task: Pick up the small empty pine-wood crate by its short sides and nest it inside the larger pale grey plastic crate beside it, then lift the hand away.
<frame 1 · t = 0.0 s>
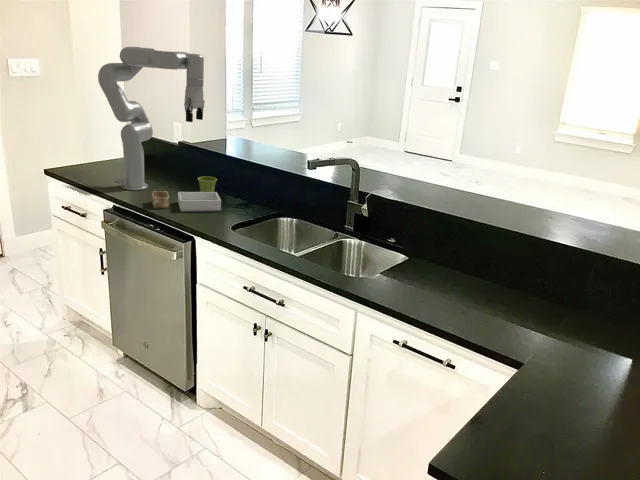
hand: (194, 120, 252), 37 cm above the worktop, tool pointing down, fingers open, 9 cm apart
plant pot: (207, 196, 270), on the worktop
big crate: (199, 206, 253), on the worktop
small crate: (160, 204, 250), on the worktop
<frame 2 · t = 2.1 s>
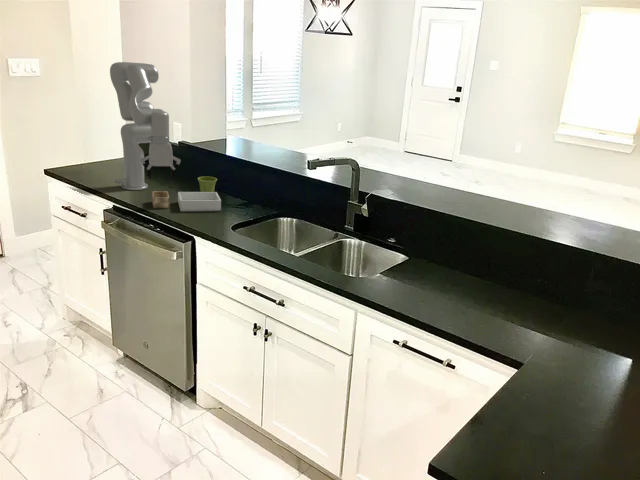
hand: (161, 178, 245), 13 cm above the worktop, tool pointing down, fingers open, 9 cm apart
nothing on the worktop moved.
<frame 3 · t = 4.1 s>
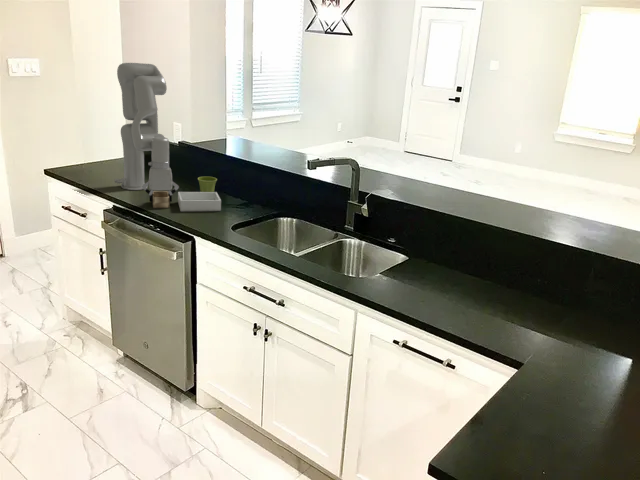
hand: (160, 202, 249), 1 cm above the worktop, tool pointing down, fingers closed on small crate, 7 cm apart
small crate: (160, 204, 250), on the worktop, touching gripper
everything else where it was.
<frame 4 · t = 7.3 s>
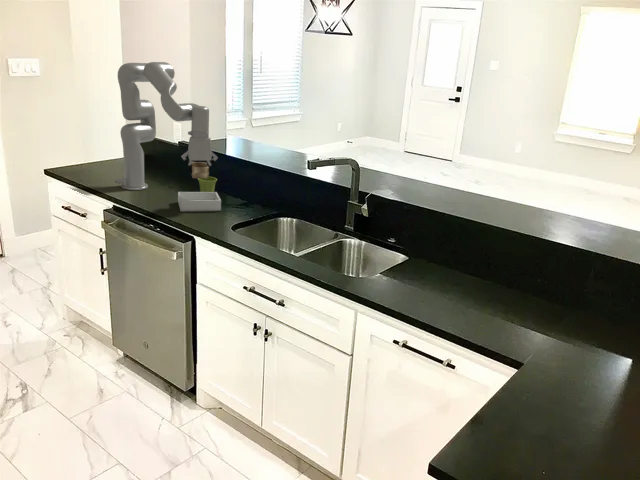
hand: (199, 173, 247), 16 cm above the worktop, tool pointing down, fingers closed on small crate, 7 cm apart
small crate: (199, 175, 247), point 15 cm above the worktop, touching gripper
everything else where it was.
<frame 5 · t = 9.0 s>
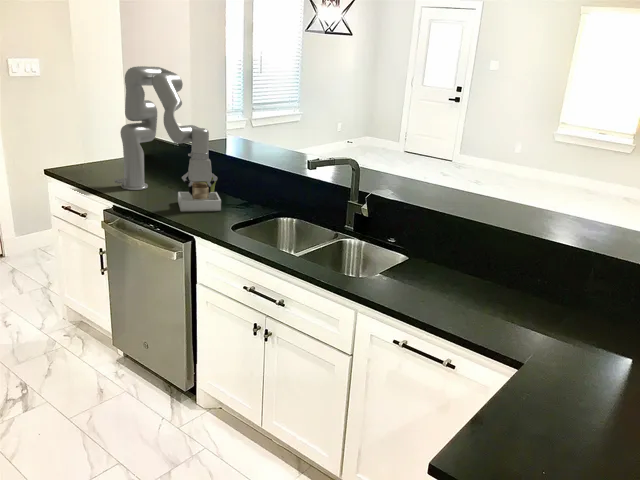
hand: (199, 193, 250), 6 cm above the worktop, tool pointing down, fingers closed on small crate, 7 cm apart
small crate: (199, 196, 251), point 5 cm above the worktop, touching gripper
everything else where it was.
when the fingers open (3 cm above the worktop, at t = 10.6 s): small crate drops 1 cm, resting on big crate.
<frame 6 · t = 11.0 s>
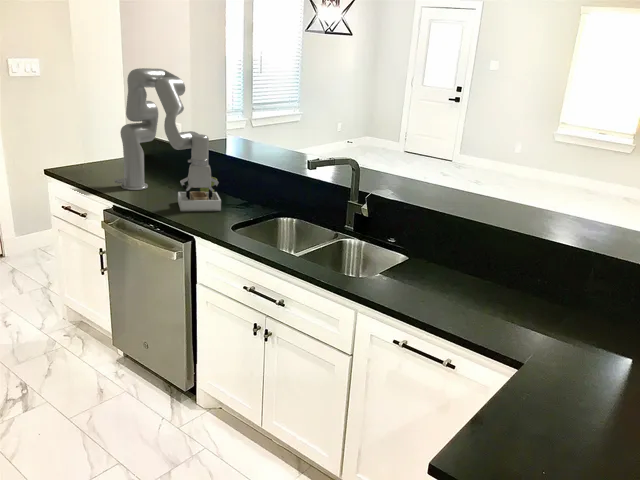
hand: (199, 198, 251), 4 cm above the worktop, tool pointing down, fingers open, 9 cm apart
small crate: (198, 204, 252), point 1 cm above the worktop, touching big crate
everything else where it was.
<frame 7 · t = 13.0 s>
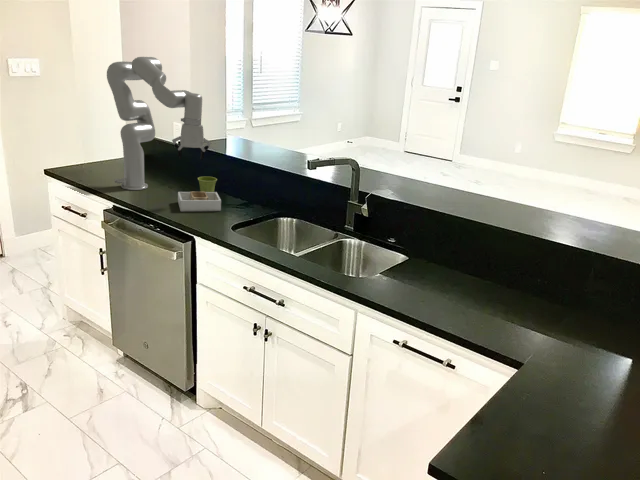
hand: (190, 158, 250), 21 cm above the worktop, tool pointing down, fingers open, 9 cm apart
nothing on the worktop moved.
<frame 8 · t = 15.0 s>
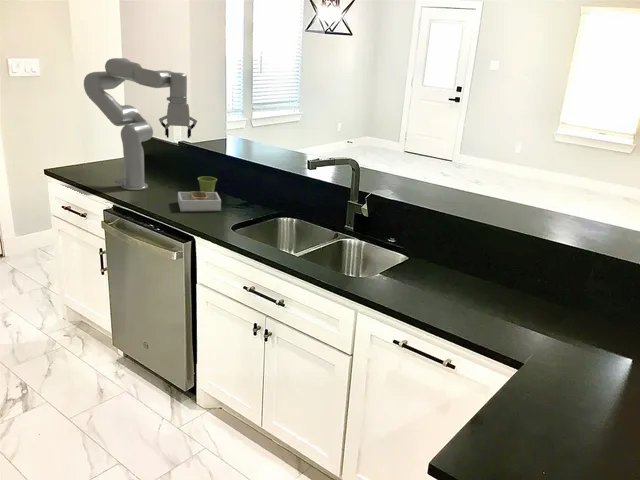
hand: (178, 137, 257), 28 cm above the worktop, tool pointing down, fingers open, 9 cm apart
nothing on the worktop moved.
at the end: small crate inside the target area on the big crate (0.1 cm from its centre), point 0.8 cm above the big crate's base; small crate tilted 0°; the gripper is holding nothing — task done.
